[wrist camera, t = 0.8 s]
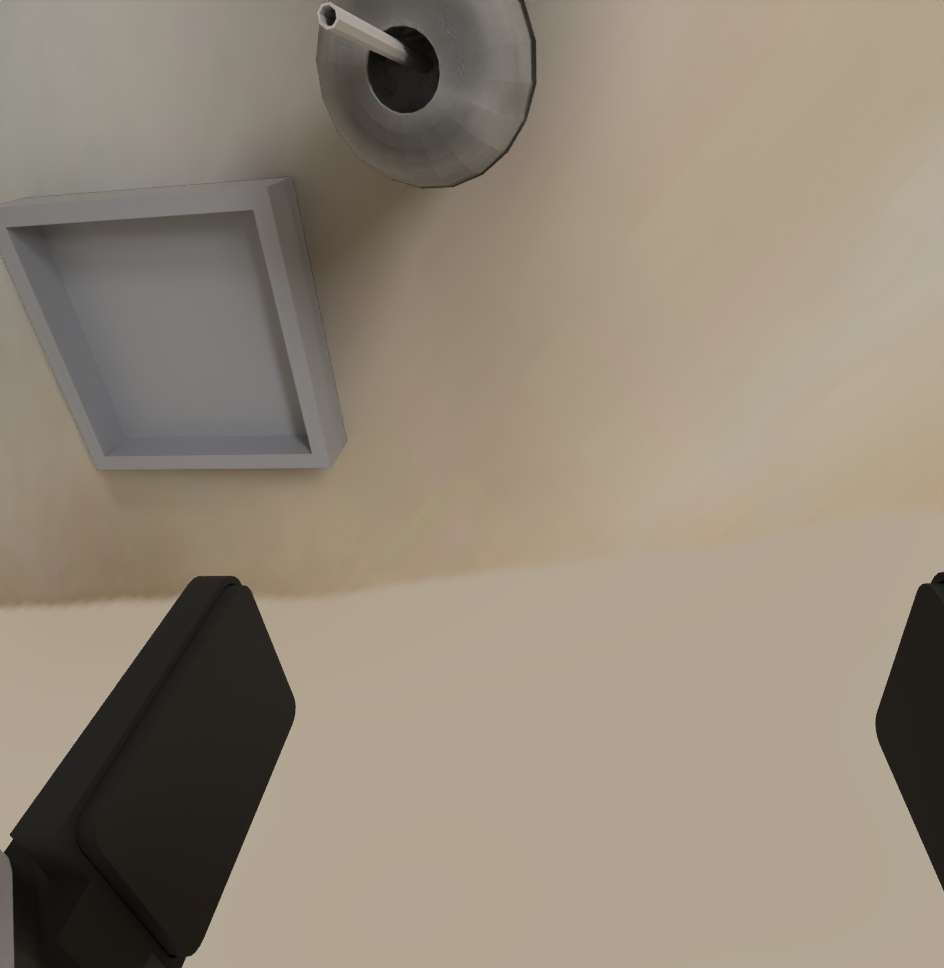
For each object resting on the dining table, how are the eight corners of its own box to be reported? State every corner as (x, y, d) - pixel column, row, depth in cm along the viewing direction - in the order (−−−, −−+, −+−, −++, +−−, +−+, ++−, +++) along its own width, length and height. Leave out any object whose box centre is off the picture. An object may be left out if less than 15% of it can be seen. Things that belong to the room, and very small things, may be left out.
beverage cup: (447, 183, 34) (330, 292, 18) (367, 39, 31) (134, 4, 15) (573, 101, 32) (579, 137, 15) (499, -65, 29) (401, -253, 12)
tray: (26, 197, 37) (-20, 208, 35) (292, 176, 35) (266, 186, 32) (126, 444, 46) (96, 469, 43) (346, 440, 43) (330, 467, 41)
